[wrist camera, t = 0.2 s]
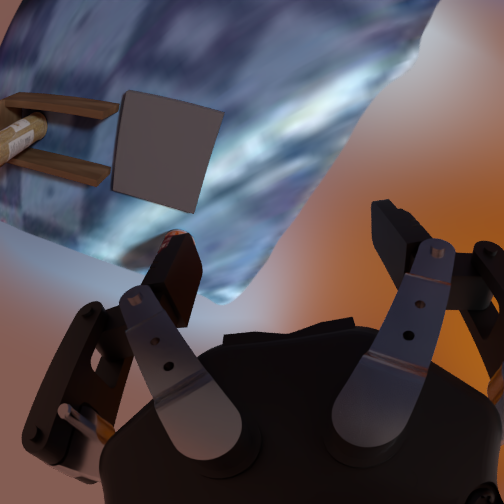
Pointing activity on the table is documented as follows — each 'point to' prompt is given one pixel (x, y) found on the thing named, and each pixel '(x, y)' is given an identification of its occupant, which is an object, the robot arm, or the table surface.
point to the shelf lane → (52, 163)
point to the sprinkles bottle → (21, 135)
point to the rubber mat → (164, 149)
